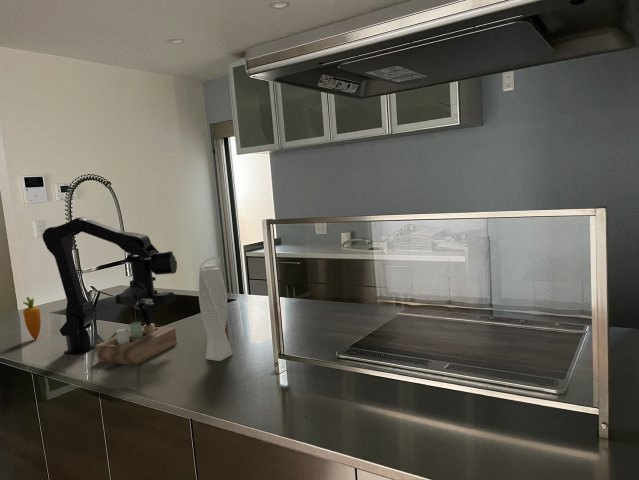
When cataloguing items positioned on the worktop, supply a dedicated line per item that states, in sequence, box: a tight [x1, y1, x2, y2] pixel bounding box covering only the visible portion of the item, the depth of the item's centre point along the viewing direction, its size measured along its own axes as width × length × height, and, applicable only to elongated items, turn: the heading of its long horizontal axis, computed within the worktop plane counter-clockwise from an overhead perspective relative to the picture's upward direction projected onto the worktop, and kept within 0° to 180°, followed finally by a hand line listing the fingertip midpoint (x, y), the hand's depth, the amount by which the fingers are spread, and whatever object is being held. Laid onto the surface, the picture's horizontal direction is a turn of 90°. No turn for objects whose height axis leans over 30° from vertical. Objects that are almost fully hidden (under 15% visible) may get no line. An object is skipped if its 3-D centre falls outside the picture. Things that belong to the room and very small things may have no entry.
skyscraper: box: [198, 256, 234, 362], centre depth 141 cm, size 8×8×28 cm
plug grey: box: [116, 328, 130, 345], centre depth 146 cm, size 3×3×6 cm
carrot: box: [22, 296, 42, 340], centre depth 175 cm, size 5×5×15 cm
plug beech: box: [143, 322, 156, 333], centre depth 157 cm, size 3×3×6 cm
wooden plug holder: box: [95, 326, 178, 366], centre depth 152 cm, size 14×18×5 cm
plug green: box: [129, 321, 143, 339], centre depth 151 cm, size 3×3×6 cm
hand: (148, 325), depth 156 cm, fingers closed, pressing on plug beech
